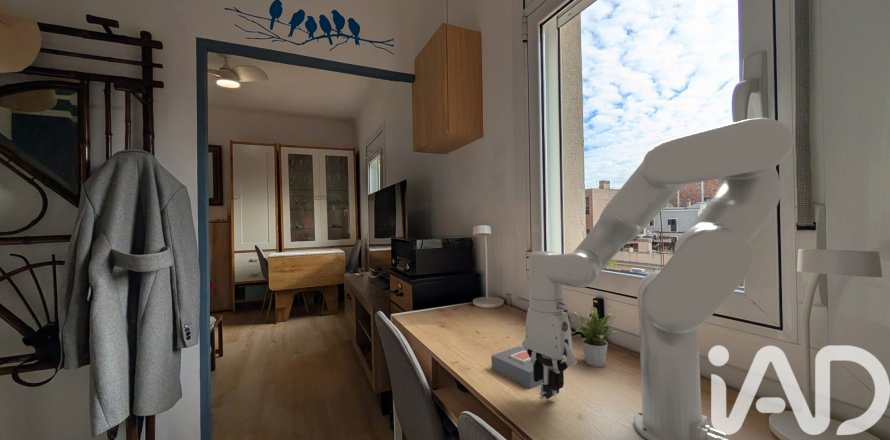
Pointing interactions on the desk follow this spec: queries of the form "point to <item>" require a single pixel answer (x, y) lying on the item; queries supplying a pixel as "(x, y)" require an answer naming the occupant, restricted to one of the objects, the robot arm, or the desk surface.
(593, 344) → the house plant
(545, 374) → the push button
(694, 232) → the robot arm
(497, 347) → the desk surface
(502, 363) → the grey button box
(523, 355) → the breaker button
